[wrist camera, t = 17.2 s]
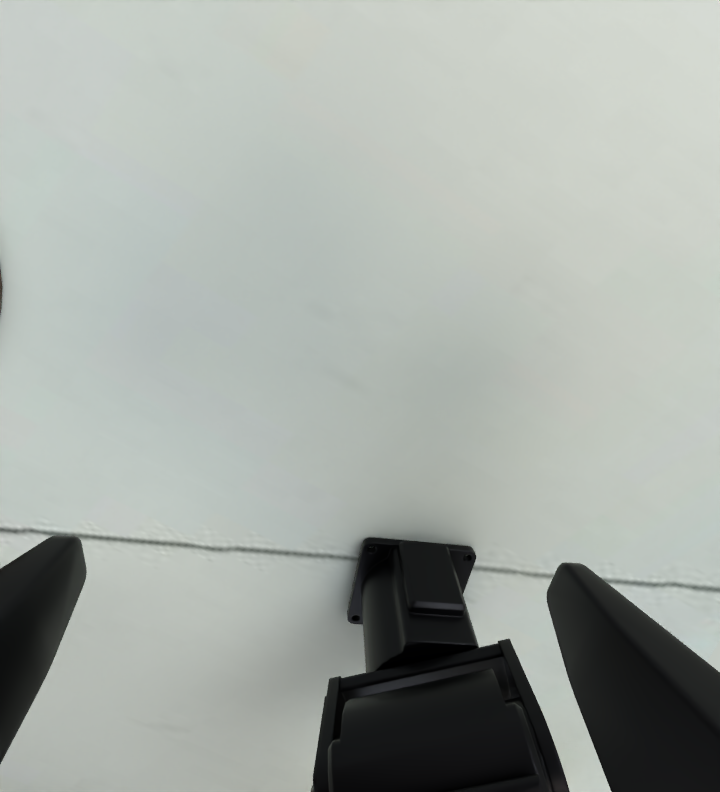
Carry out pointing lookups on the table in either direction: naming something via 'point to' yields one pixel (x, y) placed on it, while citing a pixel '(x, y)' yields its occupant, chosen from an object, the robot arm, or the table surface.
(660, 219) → the table surface
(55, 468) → the table surface
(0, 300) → the disc
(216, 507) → the table surface
